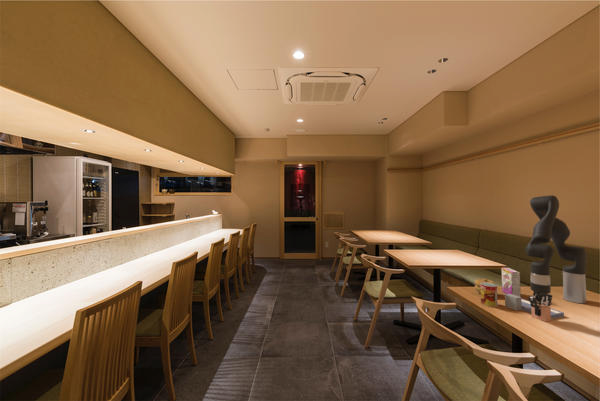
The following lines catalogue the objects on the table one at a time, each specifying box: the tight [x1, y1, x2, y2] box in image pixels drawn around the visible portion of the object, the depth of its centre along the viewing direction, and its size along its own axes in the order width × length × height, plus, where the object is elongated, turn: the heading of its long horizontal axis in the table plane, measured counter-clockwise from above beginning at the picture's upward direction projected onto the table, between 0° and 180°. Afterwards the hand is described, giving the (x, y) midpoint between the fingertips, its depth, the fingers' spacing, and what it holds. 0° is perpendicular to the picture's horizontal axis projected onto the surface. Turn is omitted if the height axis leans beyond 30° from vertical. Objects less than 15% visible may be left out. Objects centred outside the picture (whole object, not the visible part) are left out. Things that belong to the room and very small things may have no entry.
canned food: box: [480, 282, 498, 308], centre depth 146 cm, size 8×8×12 cm
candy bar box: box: [501, 267, 522, 298], centre depth 160 cm, size 11×5×16 cm, turn 168°
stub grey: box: [504, 293, 523, 311], centre depth 140 cm, size 4×6×7 cm, turn 15°
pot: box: [474, 278, 496, 294], centre depth 162 cm, size 12×12×10 cm
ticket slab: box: [521, 297, 565, 320], centre depth 138 cm, size 12×20×2 cm, turn 15°
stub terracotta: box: [531, 304, 552, 322], centre depth 128 cm, size 4×6×7 cm, turn 15°
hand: (540, 314), depth 127 cm, fingers closed on stub terracotta, 4 cm apart
